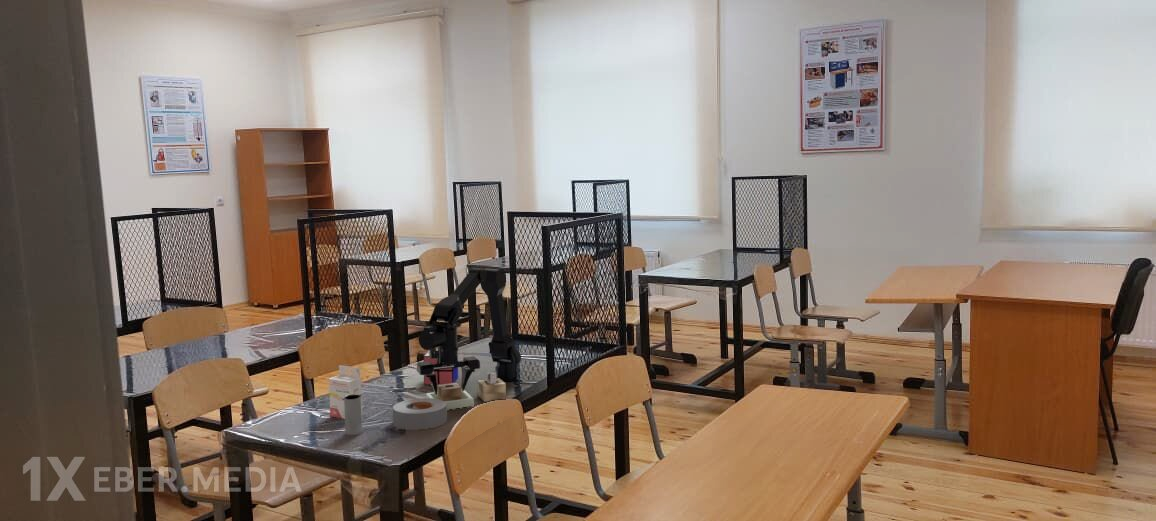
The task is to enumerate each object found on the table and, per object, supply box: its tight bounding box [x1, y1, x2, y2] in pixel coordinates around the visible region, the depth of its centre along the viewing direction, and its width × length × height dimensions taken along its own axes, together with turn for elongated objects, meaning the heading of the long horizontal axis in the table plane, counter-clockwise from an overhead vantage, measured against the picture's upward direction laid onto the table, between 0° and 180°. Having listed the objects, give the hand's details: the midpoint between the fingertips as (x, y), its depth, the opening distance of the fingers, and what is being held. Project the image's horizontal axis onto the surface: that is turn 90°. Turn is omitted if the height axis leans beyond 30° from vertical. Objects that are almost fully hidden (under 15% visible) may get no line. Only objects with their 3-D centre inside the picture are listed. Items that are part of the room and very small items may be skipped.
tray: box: [425, 388, 475, 411], centre depth 250 cm, size 12×12×2 cm
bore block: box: [477, 378, 507, 402], centre depth 257 cm, size 7×7×5 cm
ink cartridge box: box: [328, 364, 363, 420], centre depth 238 cm, size 9×5×15 cm, turn 65°
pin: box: [486, 371, 497, 385], centre depth 257 cm, size 3×3×8 cm
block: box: [437, 382, 462, 401], centre depth 250 cm, size 6×6×5 cm
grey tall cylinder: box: [344, 395, 363, 436], centre depth 224 cm, size 4×4×10 cm
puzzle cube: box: [422, 350, 459, 386], centre depth 276 cm, size 10×10×10 cm
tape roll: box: [392, 397, 448, 431], centre depth 234 cm, size 15×15×5 cm
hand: (449, 392), depth 250 cm, fingers open, 8 cm apart
